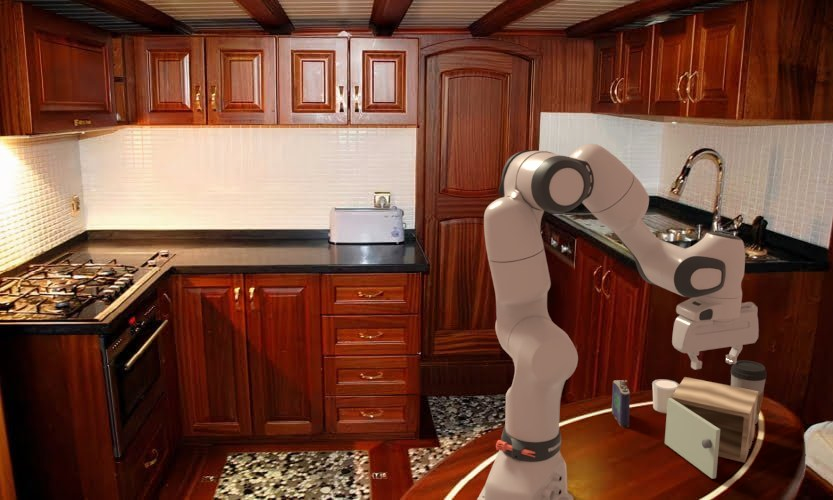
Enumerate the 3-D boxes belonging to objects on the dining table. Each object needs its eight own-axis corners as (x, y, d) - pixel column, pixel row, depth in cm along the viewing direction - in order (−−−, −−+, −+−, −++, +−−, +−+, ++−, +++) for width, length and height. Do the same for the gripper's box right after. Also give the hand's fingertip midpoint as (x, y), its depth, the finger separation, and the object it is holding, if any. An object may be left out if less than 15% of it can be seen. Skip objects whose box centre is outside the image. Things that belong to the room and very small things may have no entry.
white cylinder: (680, 415, 184) (681, 390, 182) (652, 413, 185) (654, 388, 184) (676, 403, 190) (677, 379, 189) (649, 402, 192) (650, 378, 190)
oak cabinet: (744, 462, 160) (749, 413, 158) (667, 443, 169) (670, 397, 167) (754, 437, 172) (758, 391, 169) (681, 420, 181) (684, 376, 178)
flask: (610, 411, 187) (612, 373, 184) (621, 411, 187) (623, 373, 184) (620, 427, 178) (622, 388, 175) (632, 427, 178) (634, 387, 175)
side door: (707, 479, 153) (711, 431, 150) (660, 444, 168) (663, 399, 166) (716, 478, 153) (720, 429, 151) (668, 442, 169) (671, 398, 166)
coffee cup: (759, 431, 175) (765, 374, 171) (723, 423, 179) (728, 368, 176) (763, 418, 181) (769, 363, 178) (728, 411, 186) (733, 357, 182)
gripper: (747, 297, 159) (741, 355, 162) (669, 306, 153) (665, 366, 156) (768, 304, 153) (762, 364, 156) (689, 315, 147) (684, 377, 150)
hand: (713, 365), depth 156 cm, fingers open, 8 cm apart
